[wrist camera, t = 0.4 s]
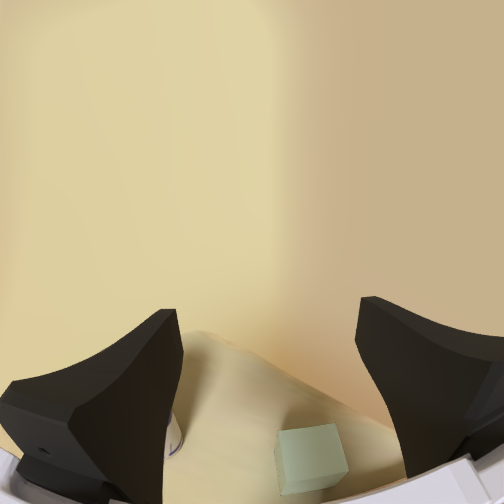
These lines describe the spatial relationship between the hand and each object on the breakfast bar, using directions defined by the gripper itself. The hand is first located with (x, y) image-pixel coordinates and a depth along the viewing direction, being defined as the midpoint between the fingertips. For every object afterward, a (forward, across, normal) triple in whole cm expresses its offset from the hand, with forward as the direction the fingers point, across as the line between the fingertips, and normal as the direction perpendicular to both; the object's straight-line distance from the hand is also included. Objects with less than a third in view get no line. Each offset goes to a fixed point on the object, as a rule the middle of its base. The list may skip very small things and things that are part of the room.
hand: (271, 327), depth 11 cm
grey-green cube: (+4, -4, +20) cm, 21 cm away
